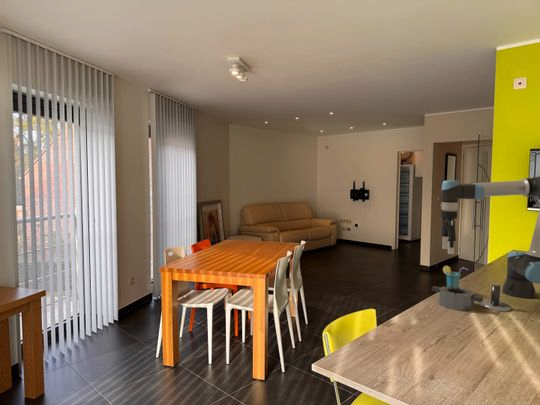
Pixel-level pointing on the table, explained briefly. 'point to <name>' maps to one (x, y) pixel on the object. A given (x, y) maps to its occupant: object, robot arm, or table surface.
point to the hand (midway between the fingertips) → (448, 251)
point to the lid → (495, 301)
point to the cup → (452, 276)
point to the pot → (456, 297)
